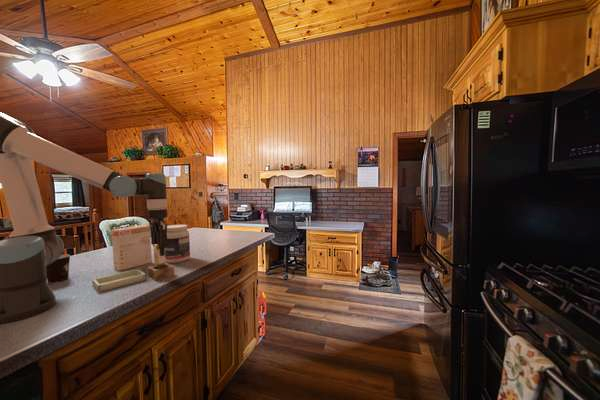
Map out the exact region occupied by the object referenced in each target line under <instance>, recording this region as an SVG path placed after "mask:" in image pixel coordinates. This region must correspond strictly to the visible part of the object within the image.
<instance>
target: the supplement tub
mask: <svg viewBox="0 0 600 400" xmlns="http://www.w3.org/2000/svg"><path fill="white" fill-rule="evenodd" d="M190 245H191V244H190V232H189V230H188V224H172V225H167V247H165V260H166V262H165V263H168V264H176V263H182V262H185V261H187V260H189V259H190V258H191V248H190V247H191V246H190Z"/></svg>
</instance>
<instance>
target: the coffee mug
mask: <svg viewBox="0 0 600 400" xmlns="http://www.w3.org/2000/svg"><path fill="white" fill-rule="evenodd" d="M70 257H71V254H61V255H60V257H59V258H58V259H57V260H56V261H55V262H53V263H52V264H49V265H48V266H46V277H47V283H48V284H54V283H55V284H56V283H59V282H63V281H66V280H68V279H69V274H70V273H69V272H70V262H71V261H70V260H71V259H70Z"/></svg>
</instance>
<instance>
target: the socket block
mask: <svg viewBox="0 0 600 400" xmlns="http://www.w3.org/2000/svg"><path fill="white" fill-rule="evenodd" d="M172 276H175V266H174V265H173V264H171V263H168V262H165V268H161V269H155V265H153V266H152V265H151V266H148V267H147V277H148V278H150V279H151V280H154V281H158V280H161V279H165V278H170V277H172Z"/></svg>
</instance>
